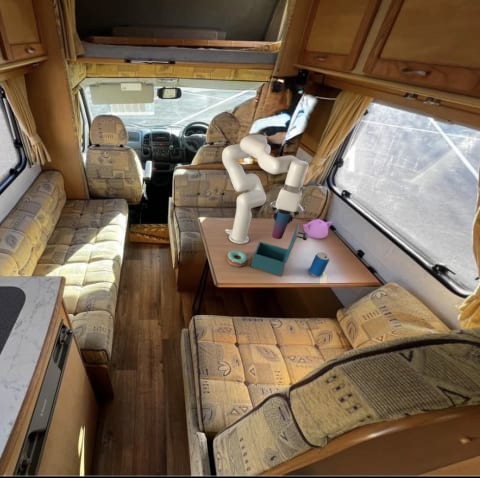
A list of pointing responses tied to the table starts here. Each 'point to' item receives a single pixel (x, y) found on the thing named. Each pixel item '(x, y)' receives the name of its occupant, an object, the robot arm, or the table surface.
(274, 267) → the cool box
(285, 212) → the cup
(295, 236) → the cool box lid
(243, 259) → the donut
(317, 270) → the beverage can
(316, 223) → the teapot
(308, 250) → the table surface
